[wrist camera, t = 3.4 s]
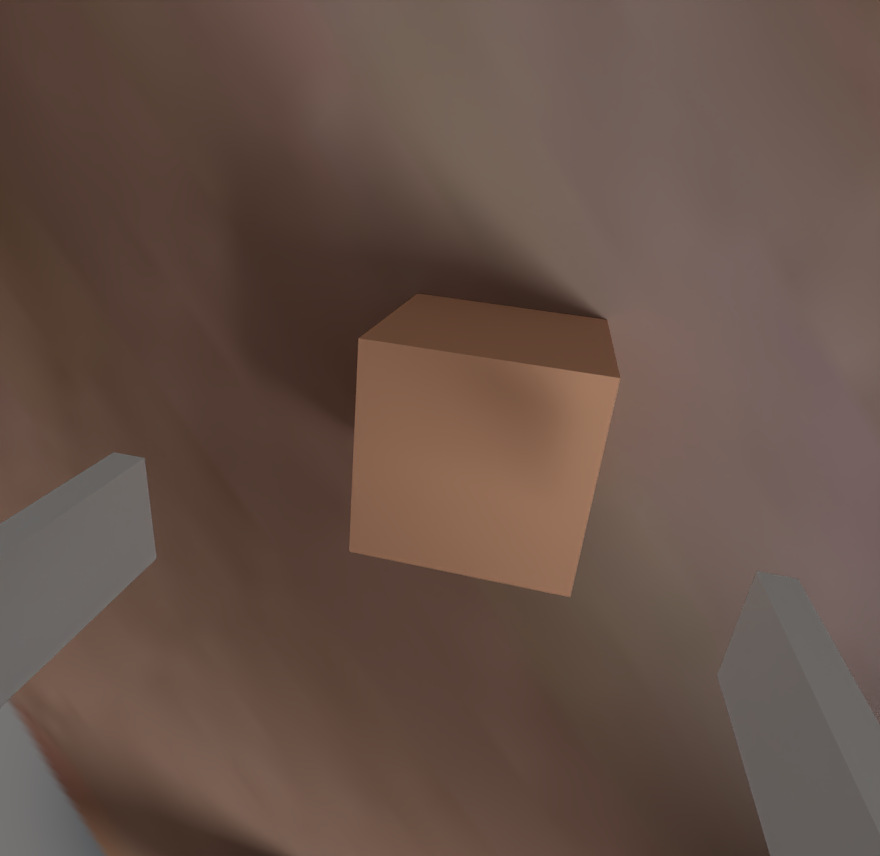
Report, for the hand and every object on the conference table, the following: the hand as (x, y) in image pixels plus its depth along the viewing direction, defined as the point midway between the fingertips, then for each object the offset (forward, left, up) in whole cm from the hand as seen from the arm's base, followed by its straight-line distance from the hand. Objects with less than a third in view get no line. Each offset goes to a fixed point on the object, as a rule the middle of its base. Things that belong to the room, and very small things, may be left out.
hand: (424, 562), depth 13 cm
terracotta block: (0, 0, -12) cm, 12 cm away
